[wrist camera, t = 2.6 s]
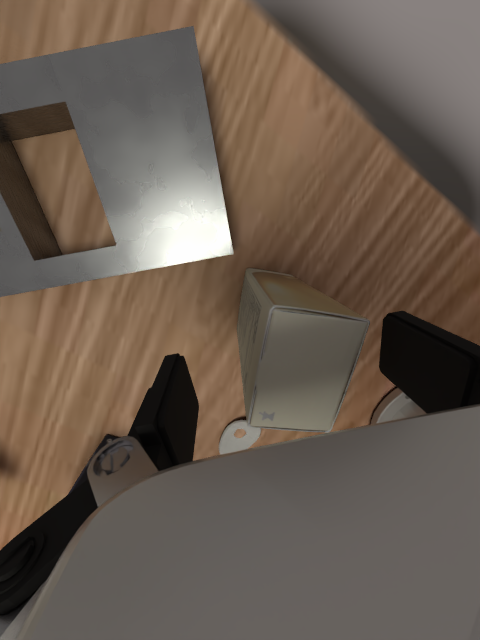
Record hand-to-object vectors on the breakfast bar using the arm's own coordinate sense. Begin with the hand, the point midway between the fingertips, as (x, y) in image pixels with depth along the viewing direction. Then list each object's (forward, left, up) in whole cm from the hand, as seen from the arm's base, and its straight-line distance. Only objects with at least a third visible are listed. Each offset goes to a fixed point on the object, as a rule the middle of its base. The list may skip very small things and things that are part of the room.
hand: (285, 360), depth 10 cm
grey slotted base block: (+11, -10, -11) cm, 19 cm away
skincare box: (-1, +1, -11) cm, 11 cm away
